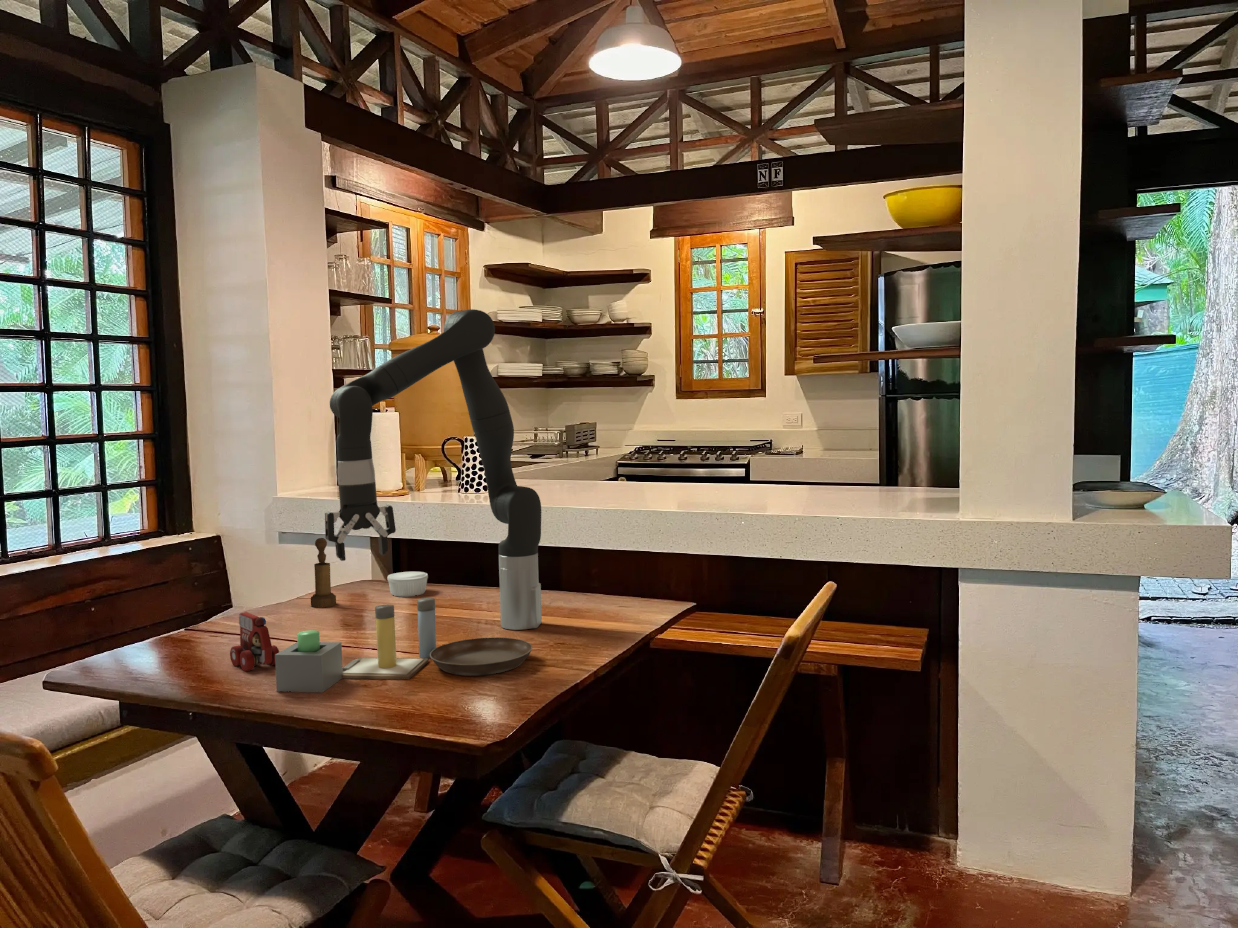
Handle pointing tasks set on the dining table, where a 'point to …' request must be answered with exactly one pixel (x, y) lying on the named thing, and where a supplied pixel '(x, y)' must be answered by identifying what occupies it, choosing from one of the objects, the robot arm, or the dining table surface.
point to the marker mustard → (385, 636)
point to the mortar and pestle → (322, 579)
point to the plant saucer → (481, 655)
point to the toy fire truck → (253, 643)
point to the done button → (308, 641)
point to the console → (309, 668)
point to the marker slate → (426, 626)
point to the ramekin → (407, 583)
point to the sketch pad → (370, 669)
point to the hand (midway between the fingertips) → (362, 557)
